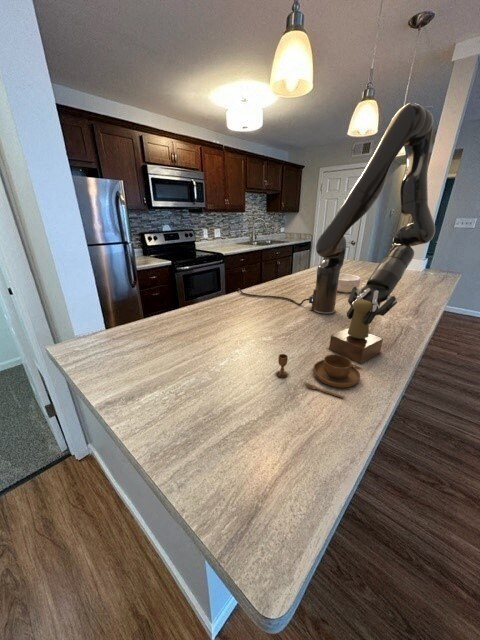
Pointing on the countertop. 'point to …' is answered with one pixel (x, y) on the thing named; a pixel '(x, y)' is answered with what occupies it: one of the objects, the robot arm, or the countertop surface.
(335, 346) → the walnut block
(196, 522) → the countertop surface
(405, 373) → the countertop surface
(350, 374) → the place setting
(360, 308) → the cork
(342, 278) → the paper bowls
